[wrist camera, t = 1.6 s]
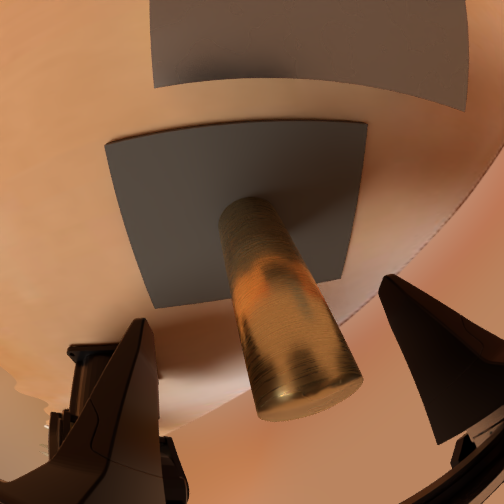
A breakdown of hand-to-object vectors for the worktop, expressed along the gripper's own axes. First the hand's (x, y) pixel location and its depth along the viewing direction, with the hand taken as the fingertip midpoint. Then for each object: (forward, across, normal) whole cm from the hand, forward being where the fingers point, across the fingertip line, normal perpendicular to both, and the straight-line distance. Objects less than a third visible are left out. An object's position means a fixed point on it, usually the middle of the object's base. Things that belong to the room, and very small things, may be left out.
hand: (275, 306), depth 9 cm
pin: (+5, 0, 0) cm, 5 cm away
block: (+6, -3, -13) cm, 15 cm away
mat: (+6, 0, 0) cm, 6 cm away
